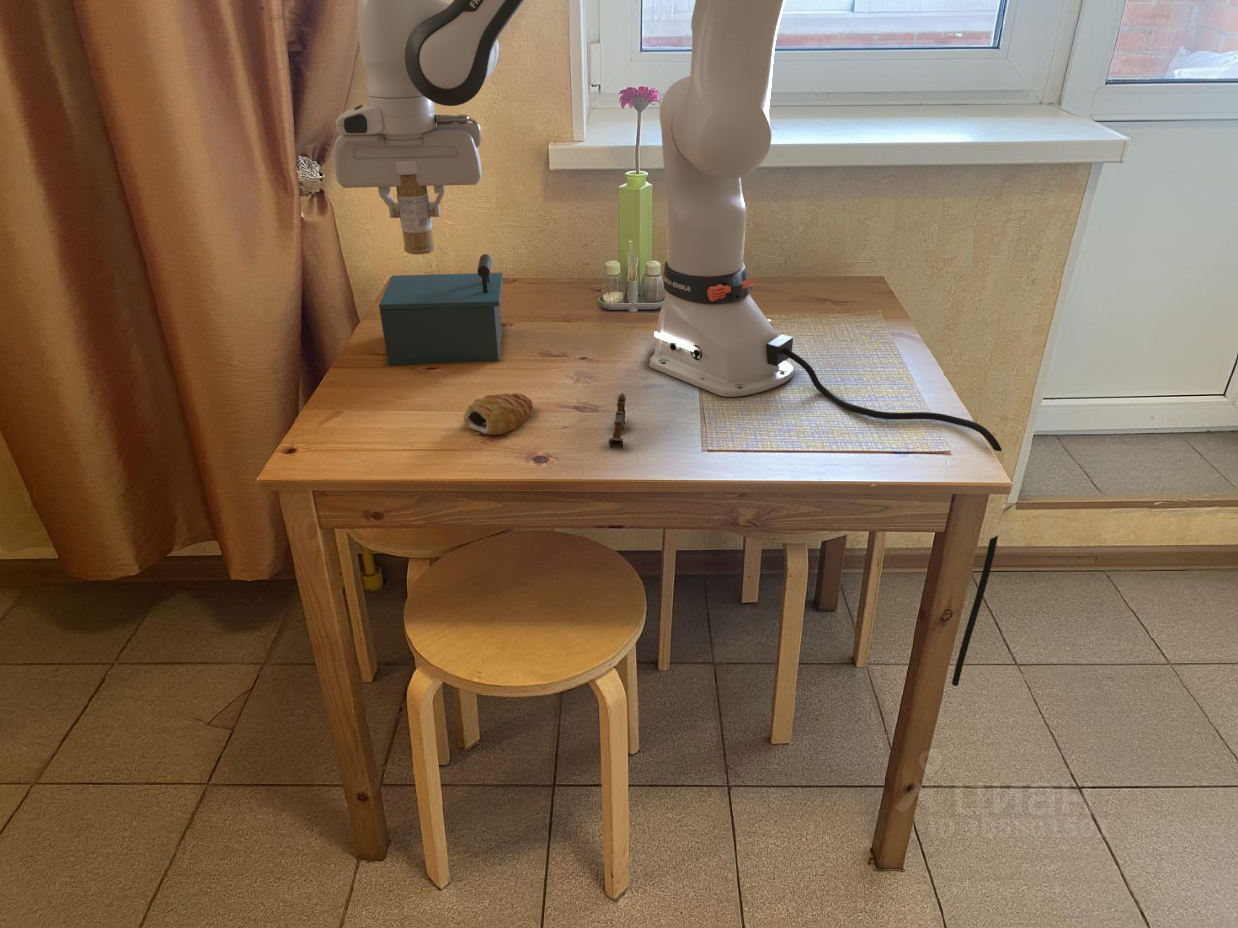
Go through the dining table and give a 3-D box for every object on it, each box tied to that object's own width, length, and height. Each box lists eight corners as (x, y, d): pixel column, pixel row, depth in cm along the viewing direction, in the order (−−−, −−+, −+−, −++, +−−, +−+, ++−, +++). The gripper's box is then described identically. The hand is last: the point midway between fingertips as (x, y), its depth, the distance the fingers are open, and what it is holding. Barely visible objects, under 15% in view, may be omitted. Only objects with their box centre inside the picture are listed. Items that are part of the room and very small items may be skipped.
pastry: (512, 401, 123) (510, 376, 121) (546, 416, 119) (545, 391, 117) (459, 425, 117) (457, 400, 115) (494, 443, 113) (491, 416, 111)
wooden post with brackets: (630, 411, 118) (629, 390, 114) (624, 460, 113) (622, 439, 110) (616, 410, 118) (615, 389, 114) (610, 459, 114) (608, 438, 110)
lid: (502, 277, 140) (500, 246, 138) (499, 306, 130) (497, 273, 127) (392, 280, 139) (387, 249, 137) (379, 309, 129) (374, 276, 126)
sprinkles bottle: (425, 244, 134) (414, 152, 127) (441, 251, 130) (429, 157, 123) (398, 250, 131) (385, 157, 124) (413, 258, 128) (400, 162, 121)
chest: (502, 329, 145) (497, 277, 140) (498, 361, 134) (494, 306, 130) (399, 332, 144) (392, 280, 139) (388, 365, 133) (379, 310, 129)
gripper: (480, 110, 124) (488, 208, 131) (332, 113, 123) (349, 212, 130) (477, 118, 119) (486, 220, 126) (323, 121, 118) (340, 224, 125)
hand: (415, 216), depth 128 cm, fingers closed on sprinkles bottle, 4 cm apart
